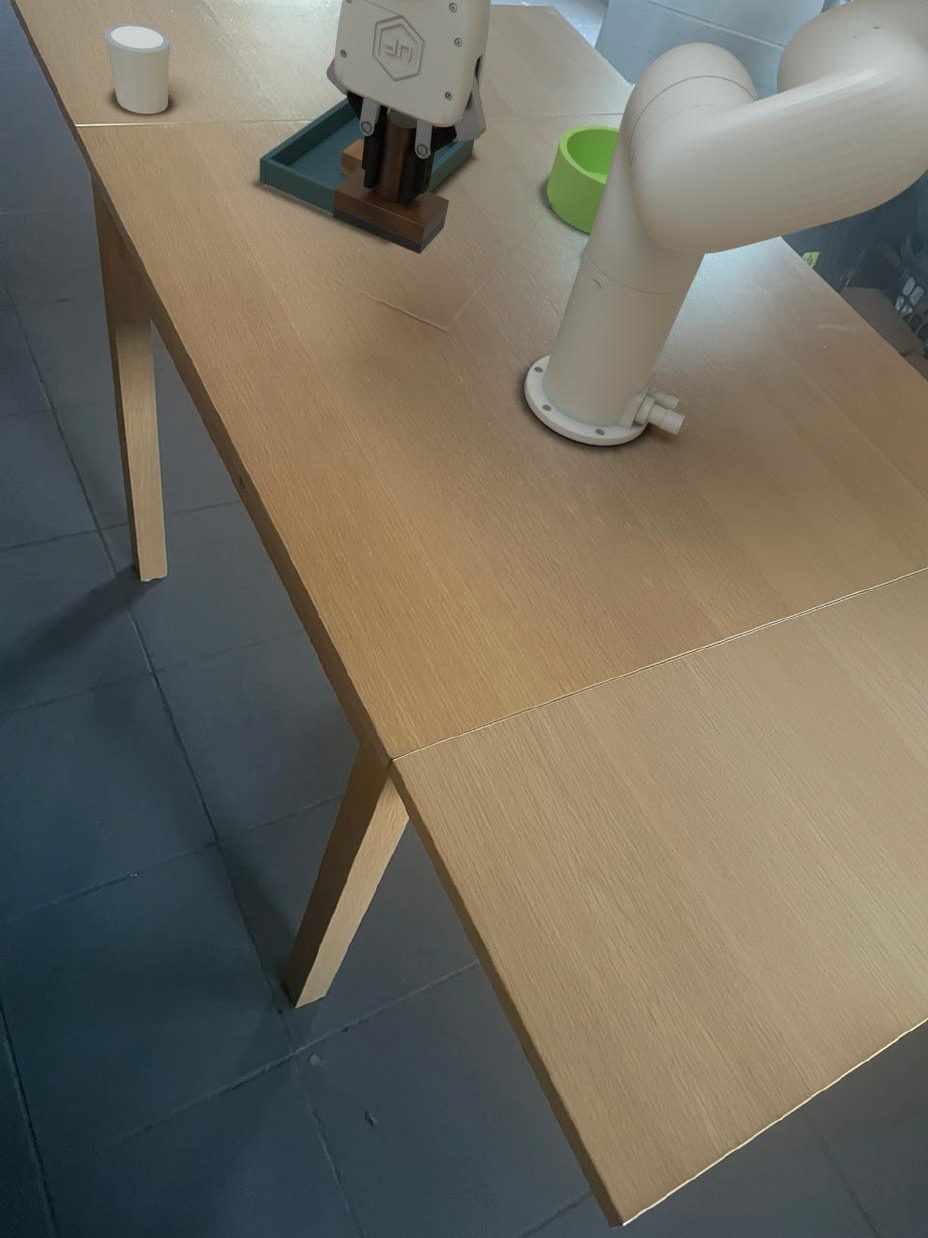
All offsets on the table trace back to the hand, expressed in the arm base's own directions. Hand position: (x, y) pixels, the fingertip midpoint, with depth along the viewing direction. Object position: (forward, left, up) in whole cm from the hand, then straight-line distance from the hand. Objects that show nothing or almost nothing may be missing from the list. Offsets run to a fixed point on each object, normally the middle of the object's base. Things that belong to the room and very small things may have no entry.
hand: (393, 187), depth 74 cm
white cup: (+43, -24, -17) cm, 52 cm away
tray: (+16, -30, -17) cm, 38 cm away
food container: (-12, -39, -17) cm, 45 cm away
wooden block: (+16, -28, -17) cm, 37 cm away
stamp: (0, 0, -3) cm, 3 cm away
